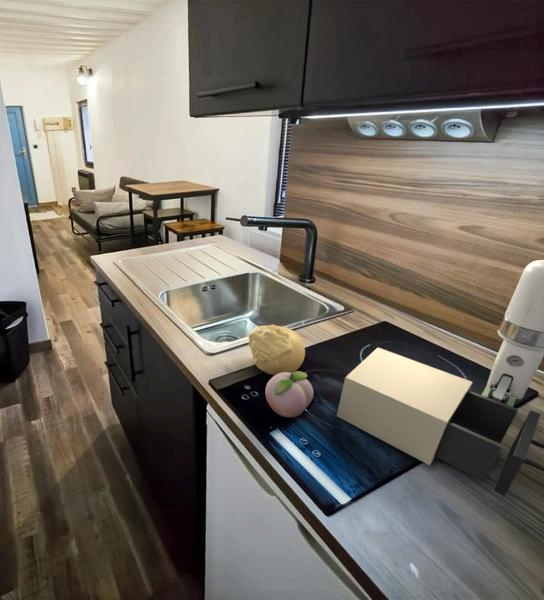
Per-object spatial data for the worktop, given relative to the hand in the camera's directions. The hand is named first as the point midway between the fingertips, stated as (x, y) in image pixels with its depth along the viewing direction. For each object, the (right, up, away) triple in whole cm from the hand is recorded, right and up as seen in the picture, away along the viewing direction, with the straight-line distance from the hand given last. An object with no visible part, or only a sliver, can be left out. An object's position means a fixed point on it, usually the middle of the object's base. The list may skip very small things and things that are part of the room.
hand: (492, 410), depth 70 cm
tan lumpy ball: (-36, +5, +17) cm, 40 cm away
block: (0, -1, 0) cm, 1 cm away
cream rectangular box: (-19, -2, 0) cm, 19 cm away
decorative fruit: (-39, -2, +3) cm, 39 cm away
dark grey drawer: (-11, -5, -9) cm, 15 cm away
